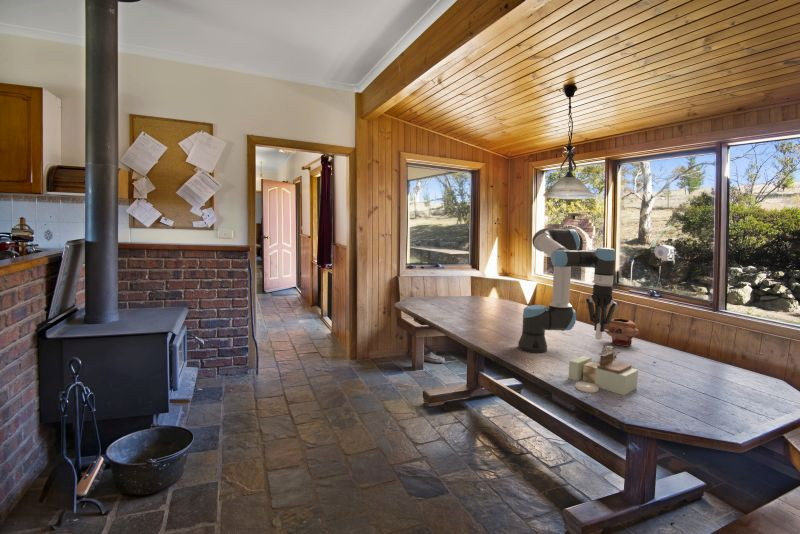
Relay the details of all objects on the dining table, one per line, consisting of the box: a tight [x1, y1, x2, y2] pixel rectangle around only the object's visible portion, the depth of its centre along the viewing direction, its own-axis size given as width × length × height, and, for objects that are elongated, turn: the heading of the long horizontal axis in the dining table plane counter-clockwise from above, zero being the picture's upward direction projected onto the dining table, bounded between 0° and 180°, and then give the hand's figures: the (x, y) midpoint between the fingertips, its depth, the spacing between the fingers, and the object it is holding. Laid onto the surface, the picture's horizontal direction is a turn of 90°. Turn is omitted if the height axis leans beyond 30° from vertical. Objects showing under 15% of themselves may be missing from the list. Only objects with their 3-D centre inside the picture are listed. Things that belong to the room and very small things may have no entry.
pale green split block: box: [567, 355, 639, 396], centre depth 192 cm, size 24×12×8 cm, turn 41°
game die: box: [598, 343, 620, 361], centre depth 223 cm, size 9×8×10 cm
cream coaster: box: [575, 381, 600, 394], centre depth 186 cm, size 9×9×1 cm
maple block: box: [582, 361, 600, 384], centre depth 196 cm, size 6×6×7 cm
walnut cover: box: [597, 352, 632, 373], centre depth 188 cm, size 9×12×5 cm
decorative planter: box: [604, 318, 640, 347], centre depth 254 cm, size 20×12×14 cm, turn 53°
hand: (598, 338), depth 193 cm, fingers closed
